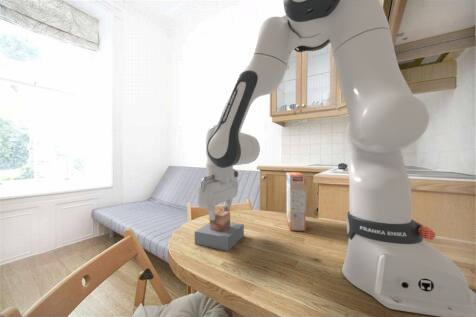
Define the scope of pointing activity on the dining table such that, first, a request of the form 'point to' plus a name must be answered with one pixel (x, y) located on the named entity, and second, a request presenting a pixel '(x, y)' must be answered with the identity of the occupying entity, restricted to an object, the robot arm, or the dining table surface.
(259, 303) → the dining table surface
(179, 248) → the dining table surface
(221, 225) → the cube
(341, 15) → the robot arm
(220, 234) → the base
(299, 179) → the cracker box
